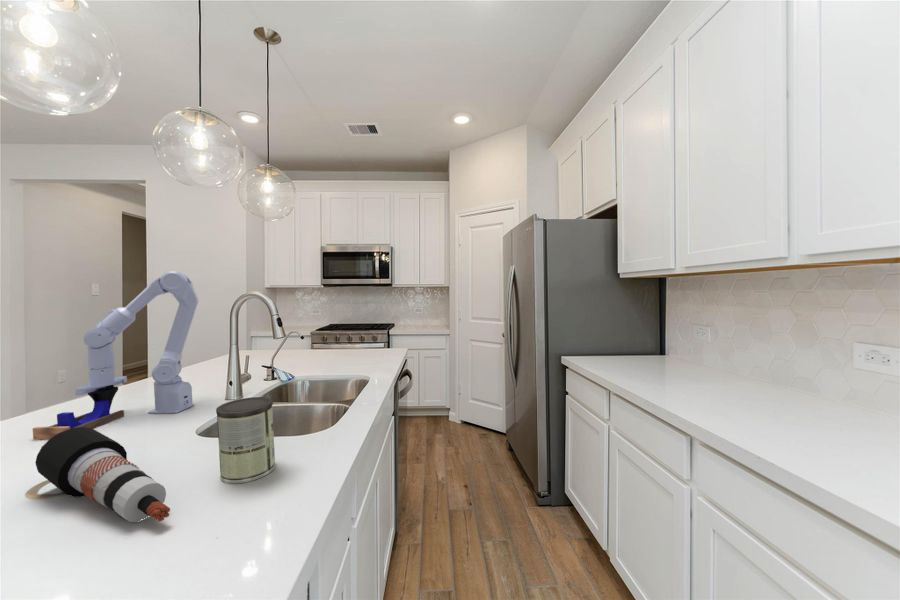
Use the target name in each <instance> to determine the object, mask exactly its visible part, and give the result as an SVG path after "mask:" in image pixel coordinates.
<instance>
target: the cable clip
mask: <svg viewBox="0 0 900 600" xmlns="http://www.w3.org/2000/svg"><path fill="white" fill-rule="evenodd" d="M93 402H94V401H93ZM110 411H111V408H110V409H109V401H97V402H94V403H93V409H92V411H90V412H87V413H85V414H86V415H85V416H84V417H83V418H82V419H81V420H80V421H77V420H76V419H75V417H76V416H75V414H74V412H73V411H71V412H70V411H69V412H68V411H67V412H60V413H58V414H56V421H57V423H56V424H57V425H58V427H60V426H70V429H71V428H74V427H76V426H79V425H82V424H85V423H87V422H90V421H93V420H95V419H98V418H101V417H103V416H106V415H109V414H111V412H110Z"/></svg>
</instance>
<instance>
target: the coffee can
mask: <svg viewBox="0 0 900 600" xmlns="http://www.w3.org/2000/svg"><path fill="white" fill-rule="evenodd" d="M273 403H274V401H273V399H272V398H269V397H265V396H257V397H256V396H255V397H254V396H253V397H252V396H251V397H245V398H239V399H234V400H231V401H227V402H225V403H223V404H221V405H219V406H217V407H216V408H215V413H216V417H217V419H216V420H217V421H216V422H217V435H218V437H217V438H218V453H219V454H218V455H219V469H220V470H219V471H220V472H219V473H220V475H219V476H220V477H219V478H220V481H221V482H223V483H226V484H232V485H233V484H235V485H236V484H243V483H244V484H245V483H249V482H252V481H256V480H258V479H261V478H264V477H266V476H267V475H269V474H271V473H272V472H273V471H274V470H275V468H276V466H277V464H276V457H275V456H276V455H275V436H274V435H275V434H274V432H275V431H274V417H273V416H274V415H273Z"/></svg>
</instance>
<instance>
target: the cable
mask: <svg viewBox="0 0 900 600" xmlns="http://www.w3.org/2000/svg"><path fill="white" fill-rule="evenodd" d="M127 455H128V454H127V451H126V449H125V447H124V446H122V444H120V443H119V442H117V441H116V440H113V439H112V438H110V437H109V436H107V435H105V434H103V433H102V432H100V431H97V430H96V429H95V428H94V429H92V428H86V427H77V428H71V429H68V430H66V431H63V432H60V433H58V434H57V435H55V436H54V437H52V438H51V439H47V440H46V442H45V443H44V444H43V445H42V446H41V448H40V449H39V452H38V453H37V455H36V459H35V466H36V469H37V470H36V471H37V473H39V474H40V475H41V476H42V477H43V478H44V479H46V480H47V481H48V482H50V483H51V484H52V485H53V486H55V487H56V488H57V489H58V490H59V491H61V492H62V493H64V494H65V495H66V496H68V497H69V496H70V497H73V498H83V497H82V496H85V497H87V498H88V499H89V500H90V501H91V502H92V501H93V502H94V503H96V504H99V505H101V506H103V507H105V508H107V509H108V510H110V511H112V512H113V513H115V514H117V515H119V516H121V518H123V519H125V520H126V521H127V522H129V523H136V522H137V523H139V522H138V521H140V520H141V519H144V518H146V517H148V516H150V517H149V518H152V520H155V521H158V522H162V521H164V519H165V518H168V517H169V516H170V513H169V512H170V511H171V508H170V507H169V506H168V505H166V504H164V503H165V500H166V496H167V492H166V488H165V487H164V485H162V484H161V483H159V482H157V481H156V480H155V479H154V478H152V477H151V476H150V475H148V474H146V473H145V472H144V471H143V470H141V469H140V467H138V466H137V465H136V464H135V463H133V462H131V461H129V460H128V456H127Z"/></svg>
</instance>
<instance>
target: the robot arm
mask: <svg viewBox="0 0 900 600" xmlns="http://www.w3.org/2000/svg"><path fill="white" fill-rule="evenodd" d="M165 294H171V295H172V296H173V297H174V298H175V300H176V301H177V302H178V306H177V310H176V313H175V316H174V319H173V323H172V326H171V329H170V332H169V335H168V338H167V342H166V344H165V347H164V351H163V353H162V355H161V357H160V359H159V362H158V364H157V365H155V367H154V368H153V370H152V372H151V377H152V379H153V391H154V393H153V394H154V409H152V410H149V411H147V414H175V413H176V414H177V413H180V412H182V411H184V410H186V409H189V408H191V407H193V406H195V403H193V389H192V385H191V383H190V382H188V381H183V379H182V377H181V376H180V375H179V374H180V373H181V371H182V364H181V360H182V356H183V351H184V347H185V345H186V341H187V340H188V339H187V338H188V334H189V332H190V329H191V325H192V322H193V318H194V315H195V313H196V310H197V306H198V303H199V298H198V295H197V293H196V290H195V288H194V284H193V282H192V281H191V279H190V278H189V277H188V276H187V275H186V274H185V273H183V272H179V271H174V270H171V271H170V270H169V271H166V272H164V273H163V274H162V275H161V277H157V278H156V279H155V280H153V281H152V282H151V283H150V284H149V285H147V286H146V287H145V288H144V289H143V290H142V291H141V292H140V293H139V294H138V295H136V297H134V299H133V300H131V301H130V302H129V303H128V304H127V305H126V306H123V307H116V308H115V309H110V310H109V311H108V313H109V315H107V316H106V317H105V318H104V319H102V320H101V321H99V322H96V323H95V326H96V327H92V328H90V329H88V330H87V331H86V332H85V333H84V335H83V343H84V344H85V345H86V346H87V362H88V363H87V364H88V366H87V367H88V381H89V382H87V383H86V384H85V385H82V386H80V387H77V388H74V389H75V396H85V395H88V396H89V397H90V398H91V399H92V401H93V402H97V401H109V409H110V410H111V407H112V403H113V400H114V397H116V394H117V392H118V390H119V386H117V385H120V384H125V383H128V376H126V375H125V376H124V375H123V376H118V377H116V372H115V358H114V357H115V356H114V347H113V344H114V342H115V340H116V337H117V336H119V335H121V333H123V332H124V331H125V330H126V329H127V328H128V327H129V326H131V324H133V323H134V322H135V321H136V315H137V313H138V312H140V311H141V310H142V309H143V308H144V307H146V306H147V305H148V304H149V303H151V301H153V300H154V299H155V298H156V297H158V296H161V295H165Z"/></svg>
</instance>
